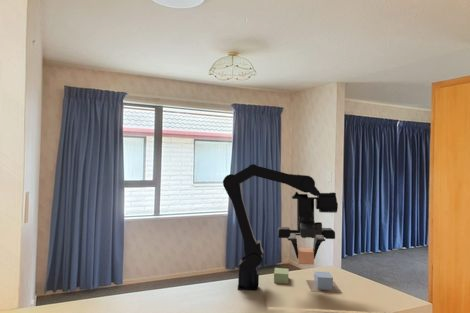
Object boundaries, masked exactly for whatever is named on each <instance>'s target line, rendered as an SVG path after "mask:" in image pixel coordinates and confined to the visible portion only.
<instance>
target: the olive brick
mask: <svg viewBox="0 0 470 313" xmlns="http://www.w3.org/2000/svg"><path fill="white" fill-rule="evenodd" d="M274 283H276V284H287V285H288V284H289V268H283V267H282V268H281V267H274V271H273V284H274Z"/></svg>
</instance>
